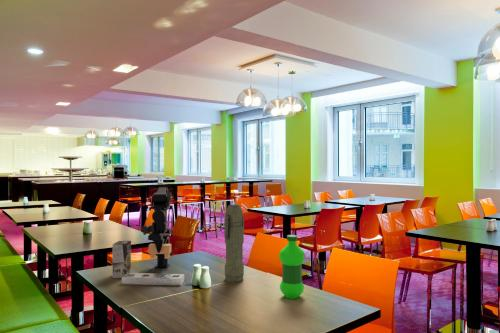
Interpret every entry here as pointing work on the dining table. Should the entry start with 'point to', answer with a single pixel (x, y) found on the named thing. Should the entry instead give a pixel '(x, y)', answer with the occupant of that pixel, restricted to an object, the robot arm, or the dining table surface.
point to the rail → (153, 279)
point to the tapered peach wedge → (160, 251)
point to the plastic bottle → (292, 268)
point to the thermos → (234, 243)
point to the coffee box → (121, 259)
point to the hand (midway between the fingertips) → (160, 251)
